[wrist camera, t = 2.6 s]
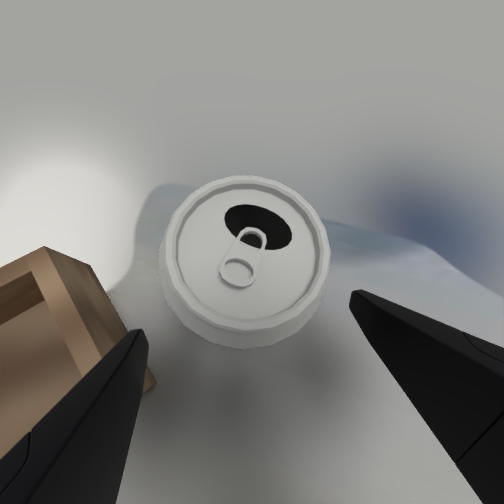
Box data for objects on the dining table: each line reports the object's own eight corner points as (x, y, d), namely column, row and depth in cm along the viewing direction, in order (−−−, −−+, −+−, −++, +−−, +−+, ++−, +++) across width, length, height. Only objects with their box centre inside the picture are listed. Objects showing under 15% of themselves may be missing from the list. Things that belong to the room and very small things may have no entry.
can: (288, 269, 20) (366, 199, 9) (261, 349, 17) (322, 397, 6) (217, 240, 20) (202, 133, 9) (179, 314, 18) (91, 299, 6)
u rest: (155, 382, 16) (126, 406, 11) (-16, 516, 13) (-153, 624, 8) (90, 265, 18) (44, 245, 14) (-69, 353, 15) (-199, 366, 10)
